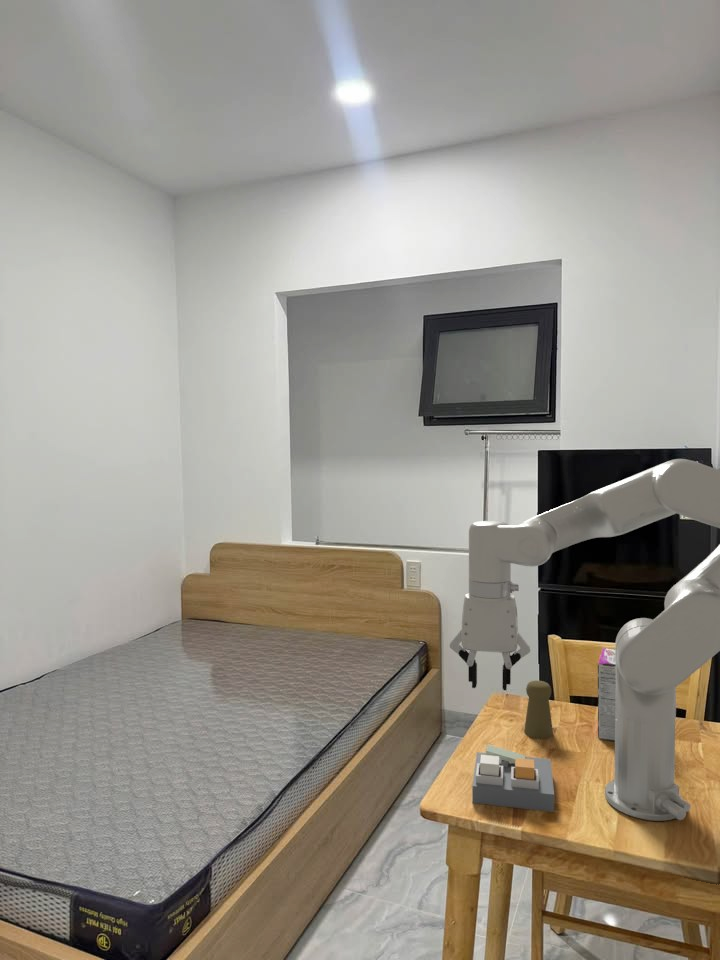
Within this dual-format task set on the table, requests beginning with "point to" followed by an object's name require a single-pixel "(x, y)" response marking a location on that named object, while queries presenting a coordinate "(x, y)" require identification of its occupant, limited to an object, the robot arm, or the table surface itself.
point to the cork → (538, 711)
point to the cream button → (489, 765)
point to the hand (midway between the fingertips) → (489, 685)
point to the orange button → (524, 768)
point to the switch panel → (515, 786)
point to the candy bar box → (606, 694)
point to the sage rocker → (503, 753)
